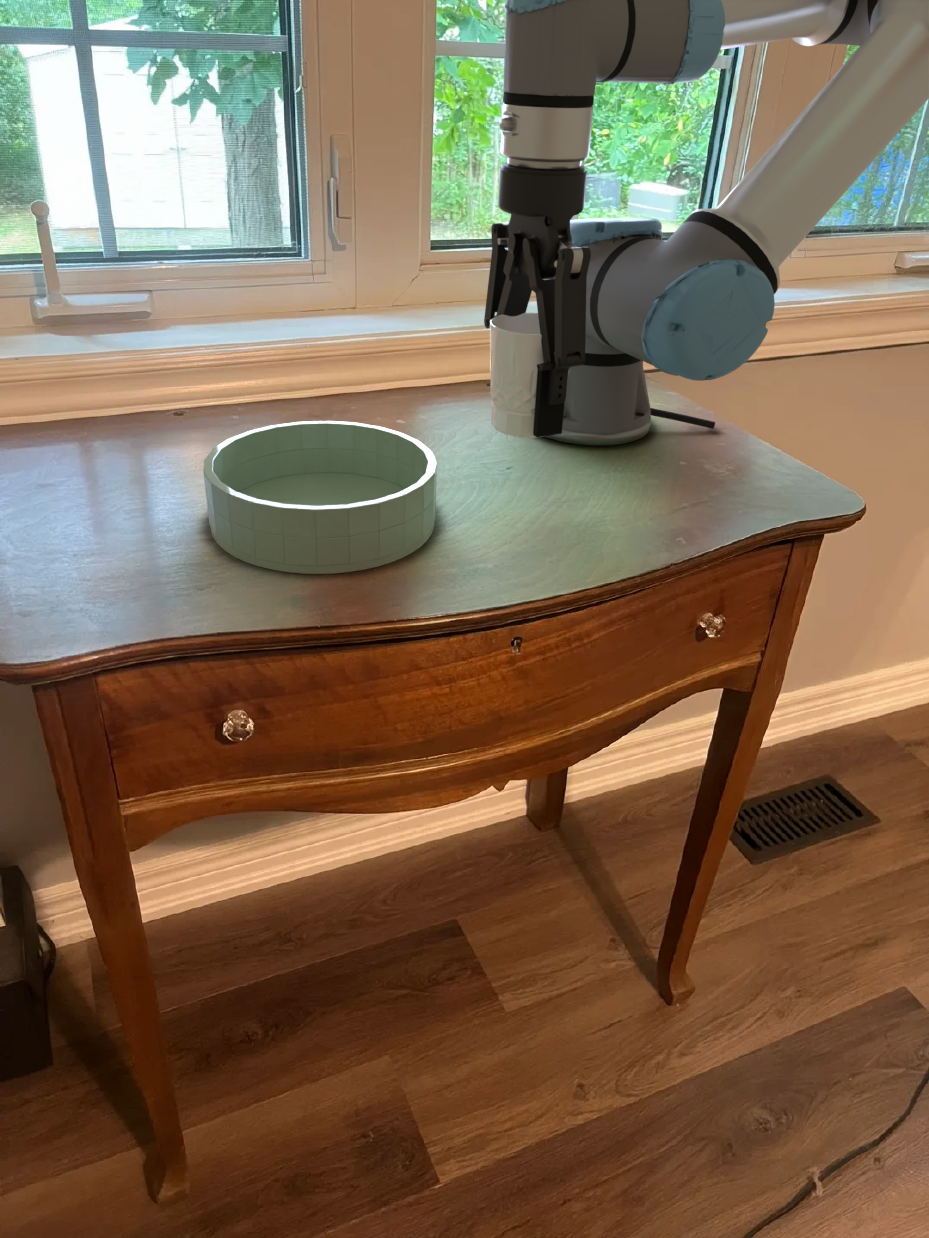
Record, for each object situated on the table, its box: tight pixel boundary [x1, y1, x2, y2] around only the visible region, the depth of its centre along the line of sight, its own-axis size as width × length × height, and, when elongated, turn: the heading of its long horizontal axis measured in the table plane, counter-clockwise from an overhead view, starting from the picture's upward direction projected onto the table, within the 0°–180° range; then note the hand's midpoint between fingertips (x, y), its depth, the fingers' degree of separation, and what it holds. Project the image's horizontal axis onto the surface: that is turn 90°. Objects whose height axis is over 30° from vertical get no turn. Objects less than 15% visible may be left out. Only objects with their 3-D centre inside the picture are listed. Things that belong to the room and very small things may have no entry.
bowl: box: [203, 420, 438, 575], centre depth 86 cm, size 21×21×6 cm
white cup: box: [489, 311, 569, 439], centre depth 90 cm, size 8×8×10 cm
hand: (526, 419), depth 92 cm, fingers closed on white cup, 8 cm apart
